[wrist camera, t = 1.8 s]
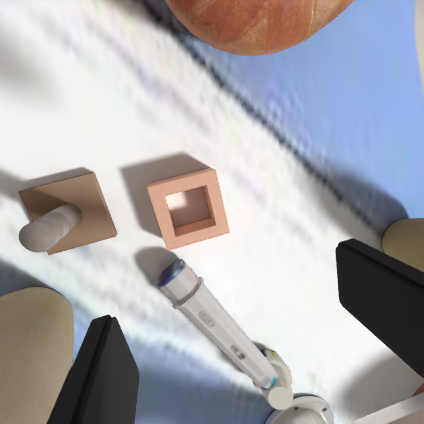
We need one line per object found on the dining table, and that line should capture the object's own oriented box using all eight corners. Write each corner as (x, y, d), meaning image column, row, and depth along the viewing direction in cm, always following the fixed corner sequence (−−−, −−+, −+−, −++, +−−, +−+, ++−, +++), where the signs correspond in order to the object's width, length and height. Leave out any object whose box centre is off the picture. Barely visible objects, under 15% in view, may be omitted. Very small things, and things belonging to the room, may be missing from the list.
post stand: (117, 233, 27) (99, 263, 20) (52, 251, 26) (10, 290, 19) (94, 172, 25) (65, 182, 18) (23, 189, 24) (-37, 207, 17)
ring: (223, 224, 29) (229, 232, 26) (167, 240, 28) (167, 250, 25) (210, 167, 27) (215, 169, 24) (149, 183, 26) (147, 187, 23)
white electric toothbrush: (186, 263, 25) (314, 408, 30) (186, 245, 32) (291, 366, 36) (148, 294, 25) (281, 434, 30) (156, 269, 32) (264, 387, 36)
